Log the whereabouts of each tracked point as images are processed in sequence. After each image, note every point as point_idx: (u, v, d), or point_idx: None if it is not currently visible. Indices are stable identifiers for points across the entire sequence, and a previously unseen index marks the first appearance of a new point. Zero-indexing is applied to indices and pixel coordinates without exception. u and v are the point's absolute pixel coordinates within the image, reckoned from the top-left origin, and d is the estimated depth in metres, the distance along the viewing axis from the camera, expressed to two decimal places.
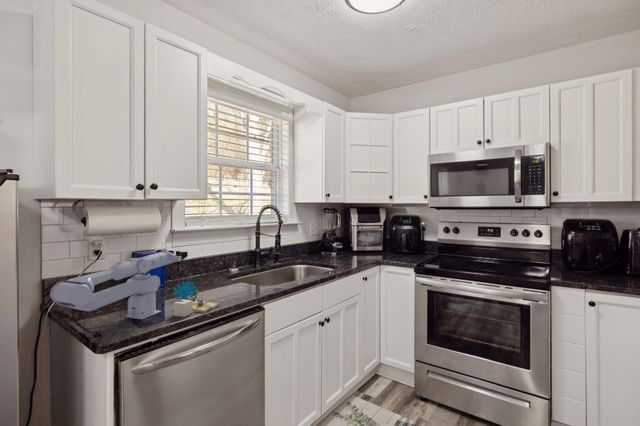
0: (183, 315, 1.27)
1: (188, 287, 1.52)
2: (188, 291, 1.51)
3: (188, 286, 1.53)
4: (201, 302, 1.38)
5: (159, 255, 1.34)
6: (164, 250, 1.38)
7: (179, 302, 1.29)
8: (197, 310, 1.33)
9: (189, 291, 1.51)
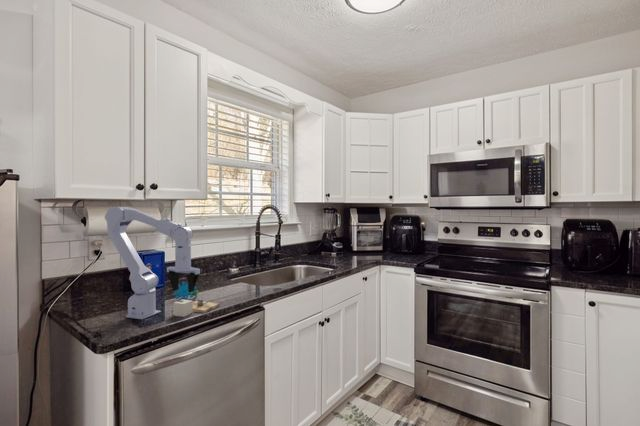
0: (183, 315, 1.27)
1: None
2: (188, 291, 1.51)
3: None
4: (201, 302, 1.38)
5: (175, 257, 1.28)
6: (176, 269, 1.27)
7: (179, 302, 1.29)
8: (197, 310, 1.33)
9: None
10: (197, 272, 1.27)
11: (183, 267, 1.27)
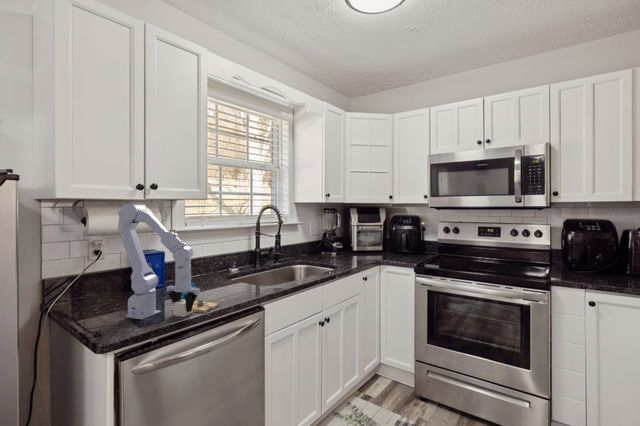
0: (183, 315, 1.27)
1: None
2: None
3: None
4: (201, 302, 1.38)
5: (175, 277, 1.28)
6: (176, 289, 1.27)
7: (179, 302, 1.29)
8: (197, 310, 1.33)
9: None
10: (197, 292, 1.27)
11: (183, 287, 1.27)
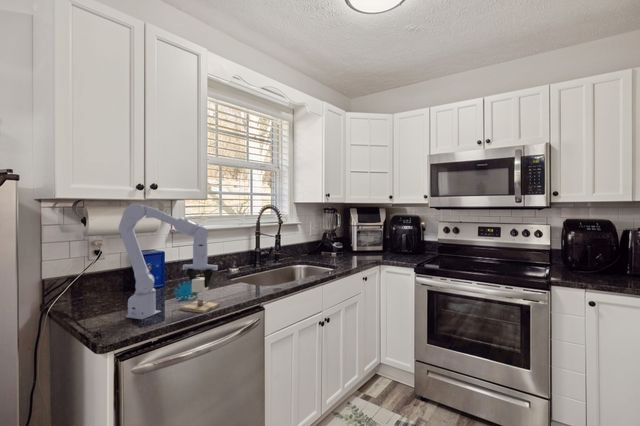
0: (202, 291, 1.36)
1: (189, 287, 1.53)
2: (188, 291, 1.51)
3: (189, 286, 1.53)
4: (201, 302, 1.38)
5: (193, 255, 1.36)
6: (196, 266, 1.35)
7: (197, 279, 1.37)
8: (197, 310, 1.33)
9: (189, 291, 1.51)
10: (216, 268, 1.37)
11: (202, 264, 1.36)
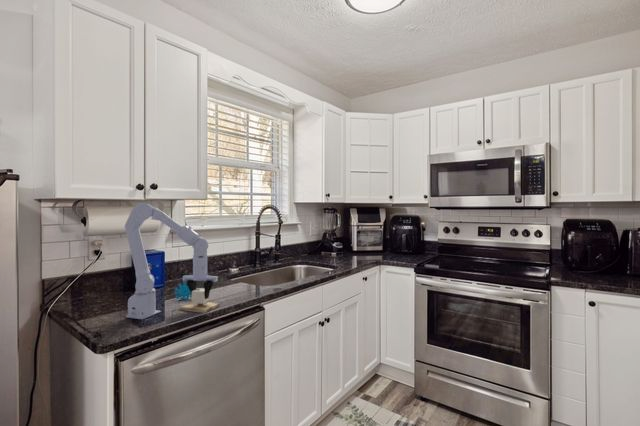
0: (202, 302, 1.36)
1: None
2: (189, 291, 1.52)
3: None
4: None
5: (193, 266, 1.36)
6: (196, 278, 1.35)
7: (197, 290, 1.37)
8: (197, 310, 1.33)
9: None
10: (216, 279, 1.37)
11: (202, 275, 1.36)
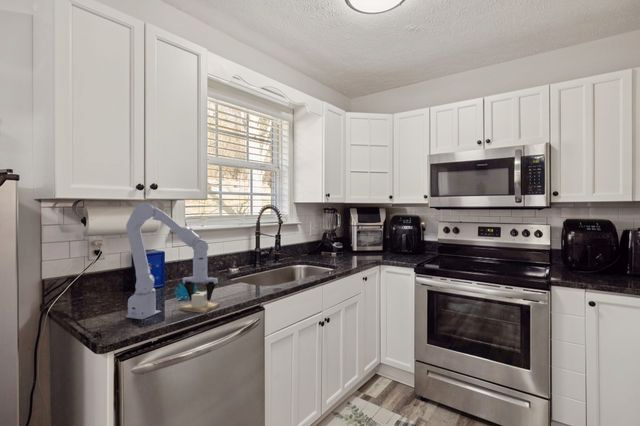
0: (202, 306, 1.36)
1: None
2: None
3: None
4: None
5: (193, 268, 1.36)
6: (196, 279, 1.35)
7: (197, 294, 1.37)
8: (197, 310, 1.33)
9: None
10: (216, 281, 1.37)
11: (202, 277, 1.36)
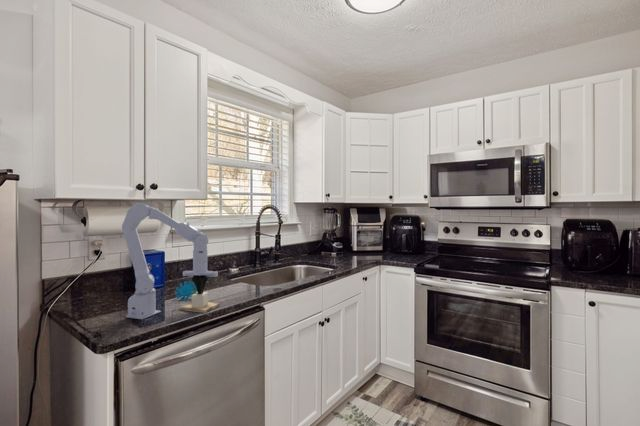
0: (202, 306, 1.36)
1: (189, 287, 1.53)
2: (189, 291, 1.52)
3: (189, 286, 1.54)
4: None
5: (193, 262, 1.36)
6: (196, 273, 1.35)
7: (197, 294, 1.37)
8: (197, 310, 1.33)
9: (190, 291, 1.52)
10: (216, 275, 1.37)
11: (202, 271, 1.36)
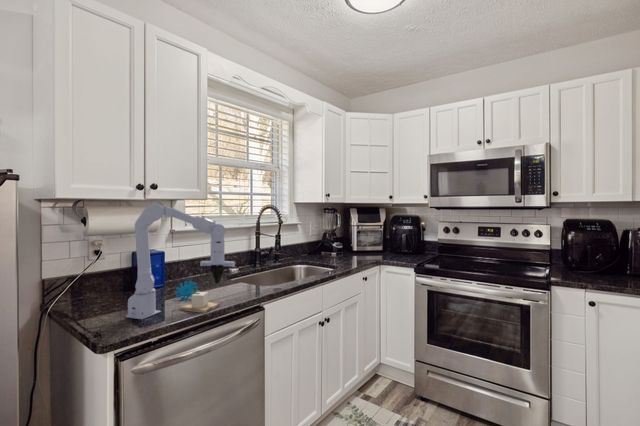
0: (202, 306, 1.36)
1: (190, 286, 1.53)
2: (189, 290, 1.52)
3: (190, 285, 1.54)
4: None
5: (211, 252, 1.39)
6: (214, 262, 1.38)
7: (197, 294, 1.37)
8: (197, 310, 1.33)
9: (190, 290, 1.52)
10: (233, 264, 1.40)
11: (220, 260, 1.39)
